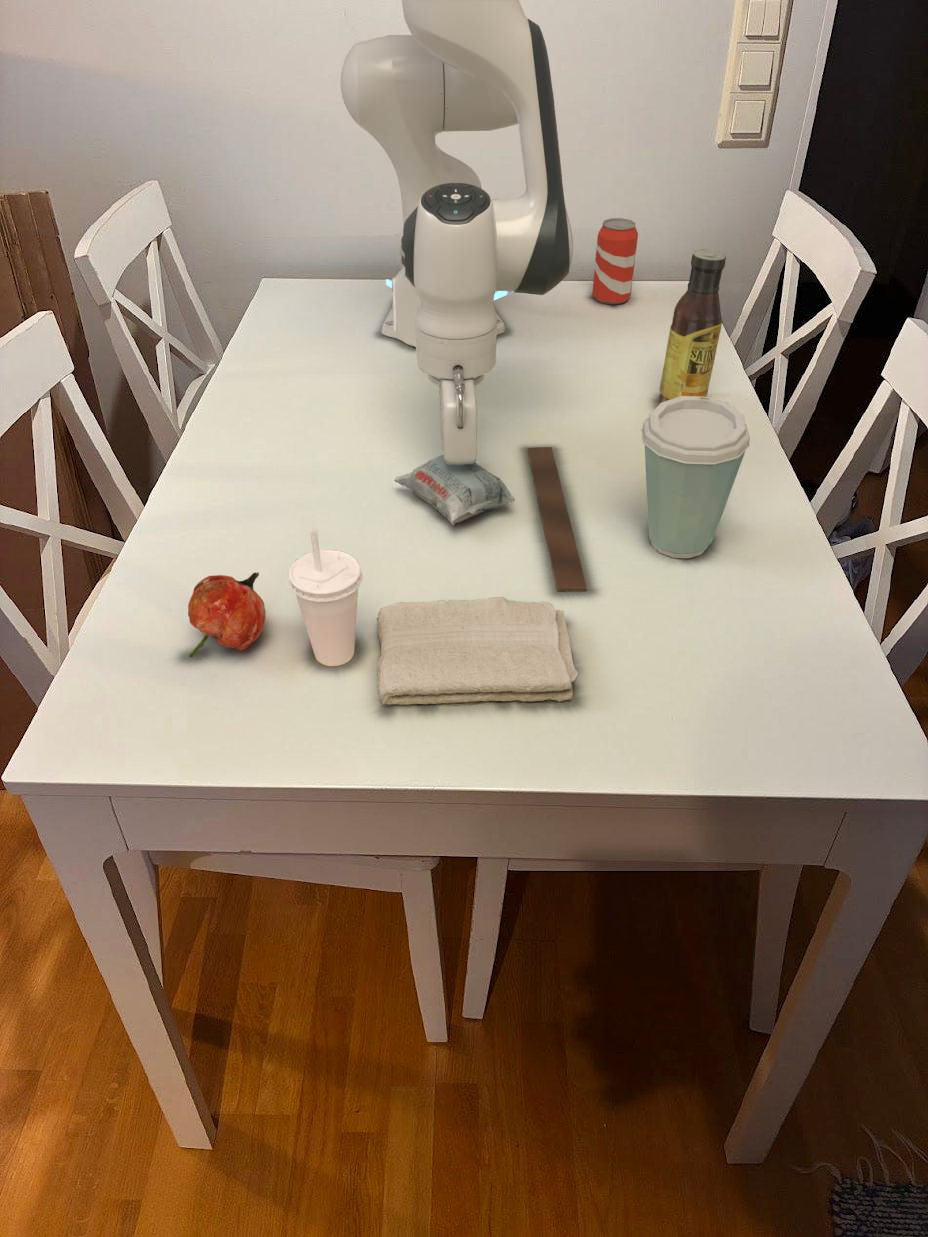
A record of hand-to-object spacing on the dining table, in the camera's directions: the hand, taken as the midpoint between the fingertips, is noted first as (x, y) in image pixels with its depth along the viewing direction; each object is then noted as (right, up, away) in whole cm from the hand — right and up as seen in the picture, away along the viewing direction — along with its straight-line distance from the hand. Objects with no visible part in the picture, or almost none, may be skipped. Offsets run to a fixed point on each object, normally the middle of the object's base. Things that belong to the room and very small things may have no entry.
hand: (456, 456), depth 111 cm
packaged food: (0, -7, -5) cm, 8 cm away
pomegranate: (-21, -22, -23) cm, 38 cm away
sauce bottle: (+30, +9, +14) cm, 34 cm away
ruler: (+11, -8, -6) cm, 15 cm away
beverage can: (+25, +33, +42) cm, 59 cm away
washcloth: (+2, -24, -25) cm, 34 cm away
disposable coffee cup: (+24, -11, -10) cm, 28 cm away
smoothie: (-11, -23, -24) cm, 35 cm away
